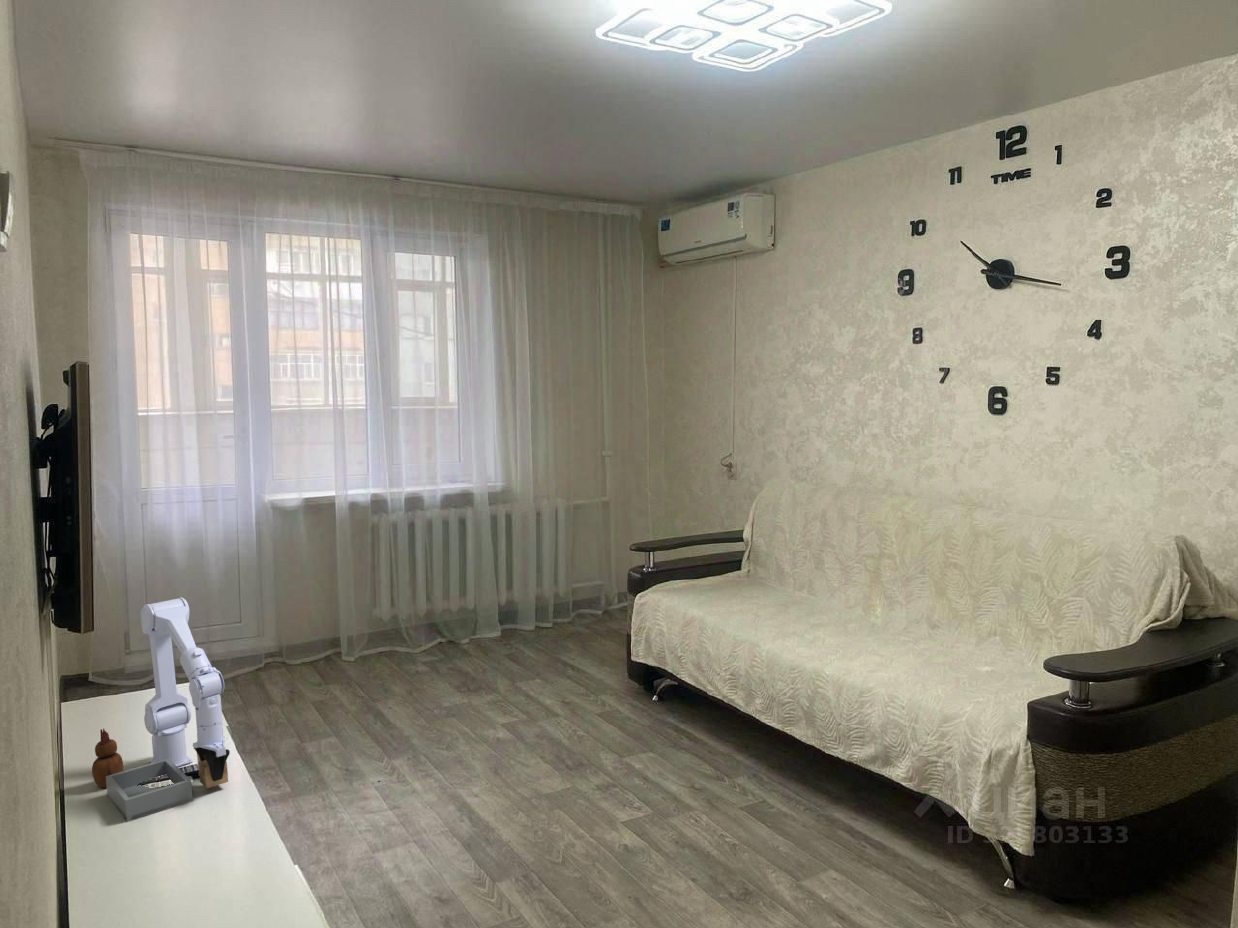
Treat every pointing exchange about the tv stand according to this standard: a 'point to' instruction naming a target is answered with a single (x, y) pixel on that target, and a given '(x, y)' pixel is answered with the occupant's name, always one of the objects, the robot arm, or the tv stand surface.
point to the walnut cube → (206, 776)
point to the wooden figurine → (106, 760)
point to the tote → (148, 790)
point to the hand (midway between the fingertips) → (213, 775)
